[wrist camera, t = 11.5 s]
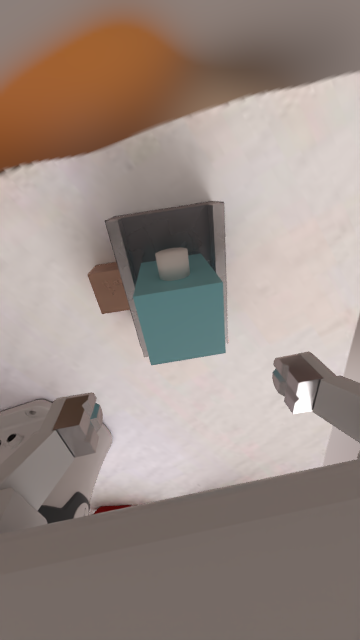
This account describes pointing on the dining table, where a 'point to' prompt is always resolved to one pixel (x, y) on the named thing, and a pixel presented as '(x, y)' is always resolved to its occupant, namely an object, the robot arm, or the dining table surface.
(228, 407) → the dining table surface
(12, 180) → the dining table surface
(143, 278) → the block
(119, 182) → the dining table surface
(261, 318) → the dining table surface
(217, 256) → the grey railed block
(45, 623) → the robot arm
